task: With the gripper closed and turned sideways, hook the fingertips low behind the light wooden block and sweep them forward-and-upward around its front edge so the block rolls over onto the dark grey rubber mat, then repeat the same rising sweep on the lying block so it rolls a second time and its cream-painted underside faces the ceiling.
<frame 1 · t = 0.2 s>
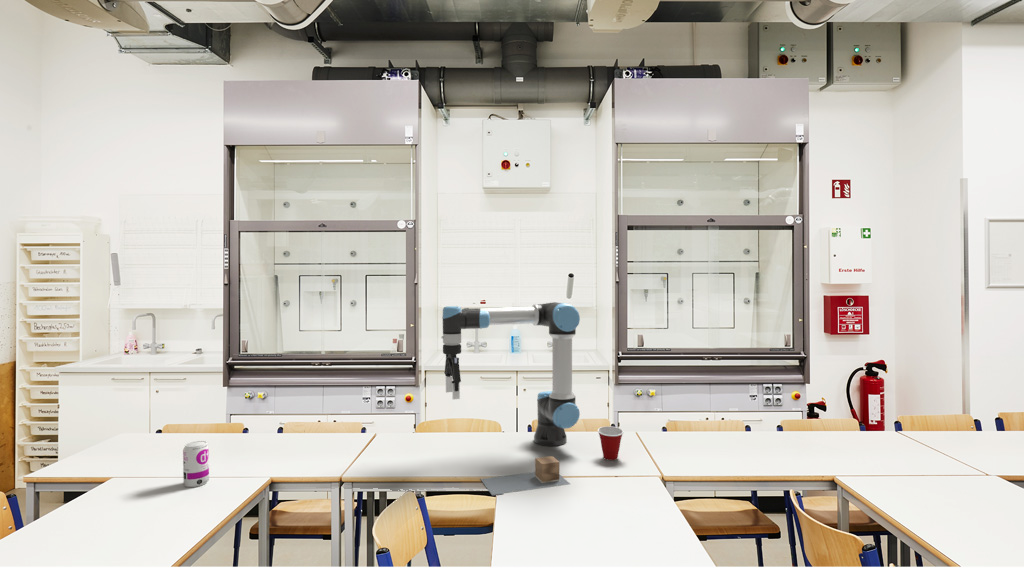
hand: (452, 395, 225), 28 cm above the table, fingers open, 13 cm apart
supplement can: (196, 484, 204), on the table
rubber mat: (524, 482, 204), on the table
plastic cup: (610, 458, 230), on the table
light wooden block: (547, 478, 207), resting on rubber mat
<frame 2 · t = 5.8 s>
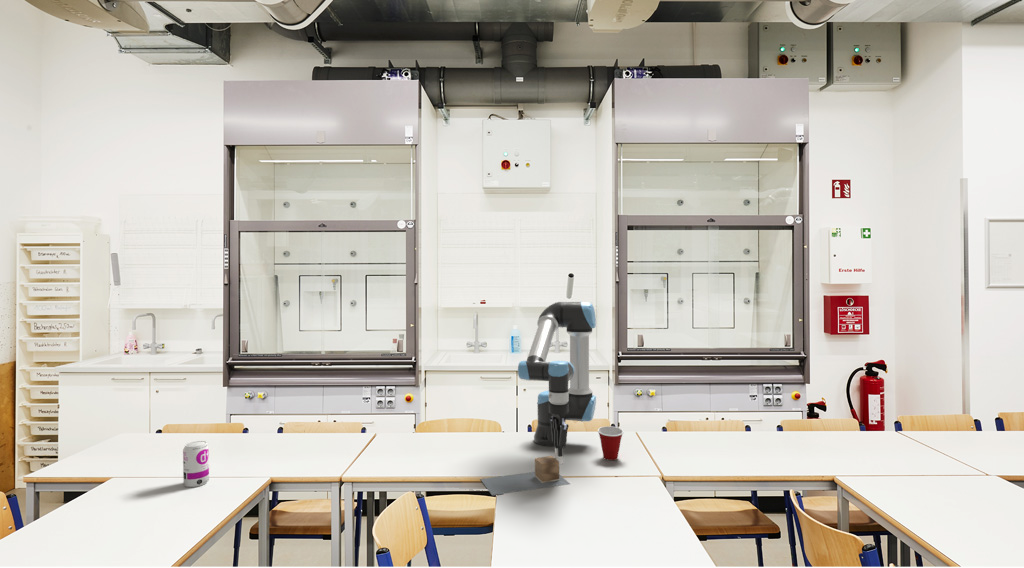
hand: (559, 463, 208), 5 cm above the table, fingers closed
light wooden block: (547, 478, 207), resting on rubber mat, touching gripper
everything else where it was.
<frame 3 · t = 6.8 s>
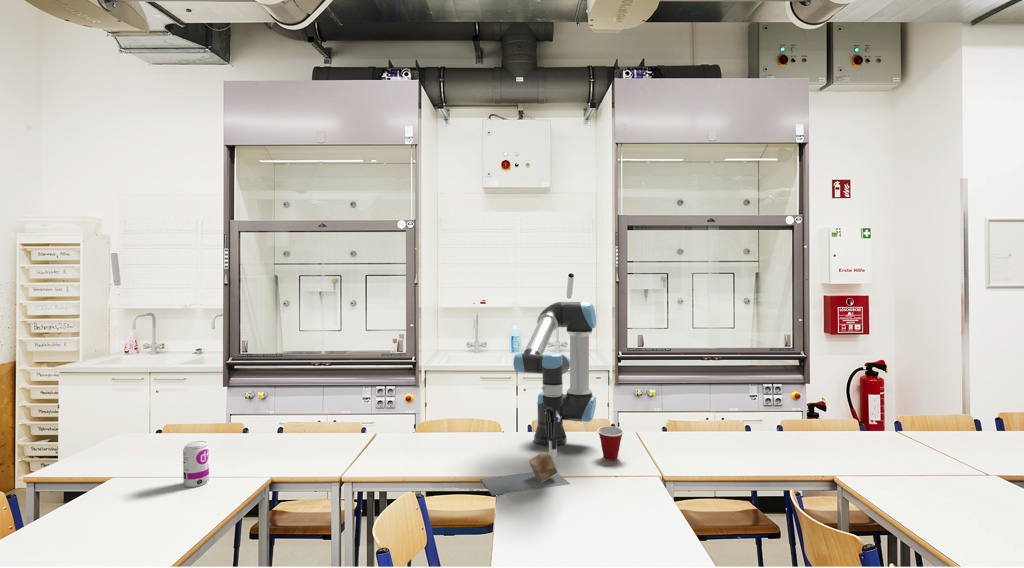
hand: (552, 456, 207), 8 cm above the table, fingers closed
light wooden block: (546, 474, 206), point 2 cm above the table, tilted 22°, touching gripper, rubber mat
everything else where it was.
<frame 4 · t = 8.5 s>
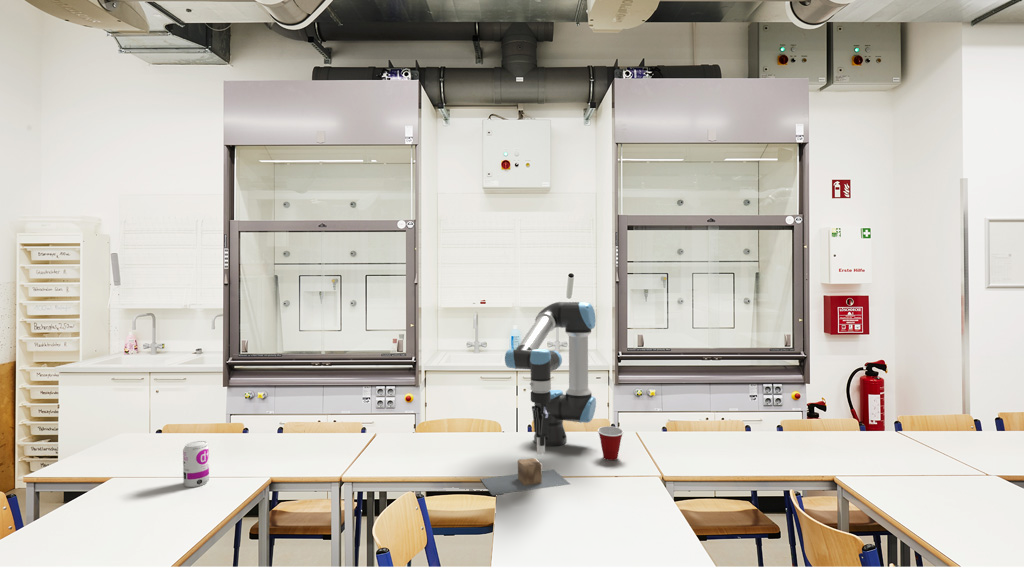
hand: (540, 453, 206), 10 cm above the table, fingers closed
light wooden block: (538, 470, 205), point 4 cm above the table, tilted 90°, touching rubber mat
everything else where it was.
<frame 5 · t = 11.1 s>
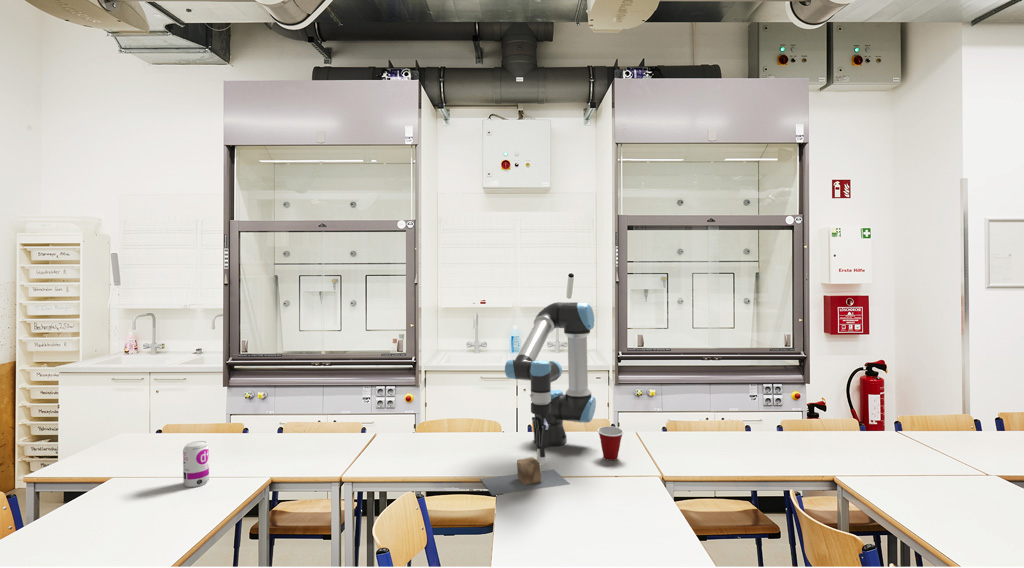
hand: (541, 464, 206), 6 cm above the table, fingers closed
nothing on the table moved.
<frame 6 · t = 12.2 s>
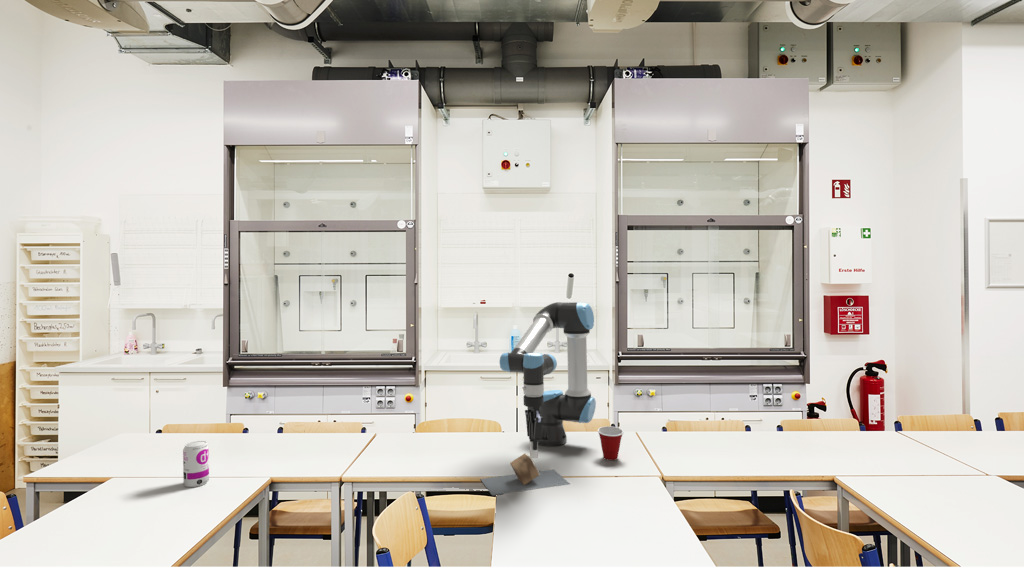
hand: (533, 457, 205), 9 cm above the table, fingers closed
light wooden block: (532, 463, 205), point 7 cm above the table, tilted 117°, touching gripper, rubber mat
everything else where it was.
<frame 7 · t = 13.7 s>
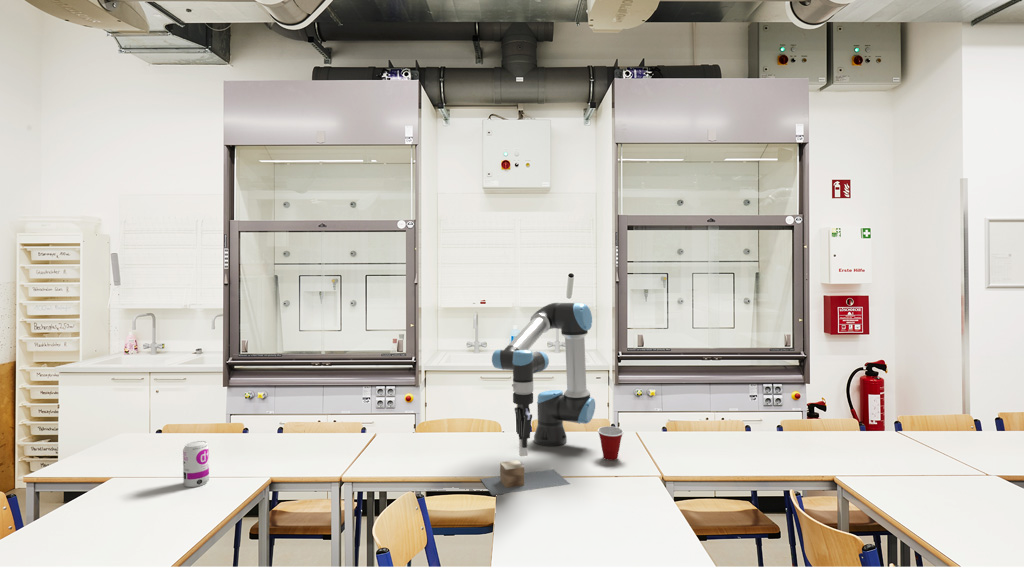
hand: (523, 455, 203), 10 cm above the table, fingers closed
light wooden block: (512, 464, 202), point 7 cm above the table, tilted 180°, touching rubber mat
everything else where it was.
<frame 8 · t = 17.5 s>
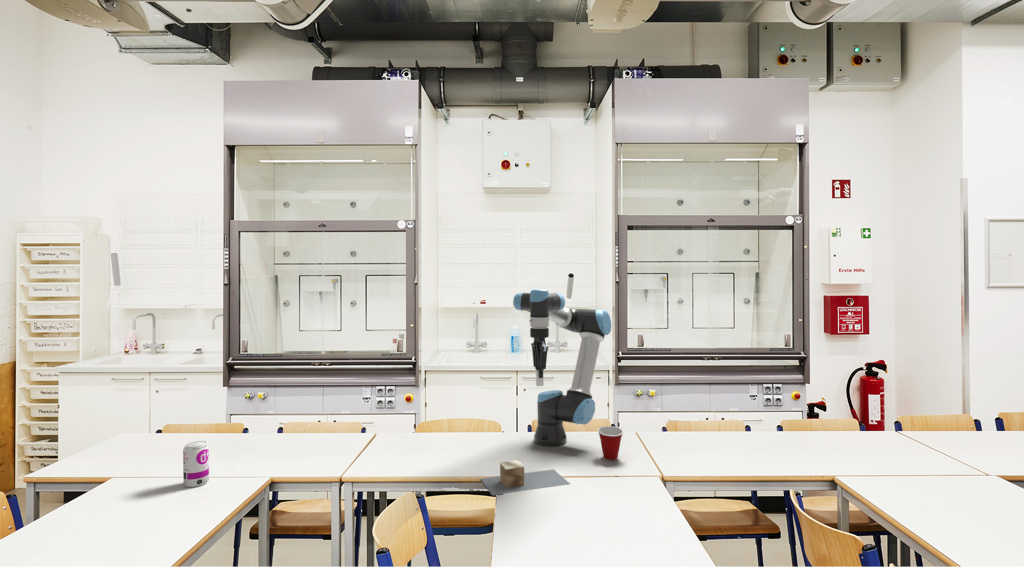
hand: (539, 385, 221), 32 cm above the table, fingers closed
nothing on the table moved.
at the end: light wooden block point 7.3 cm above the table; light wooden block inside the target area (2.5 cm from its centre), point 7.3 cm above the table; light wooden block tilted 180° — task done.
